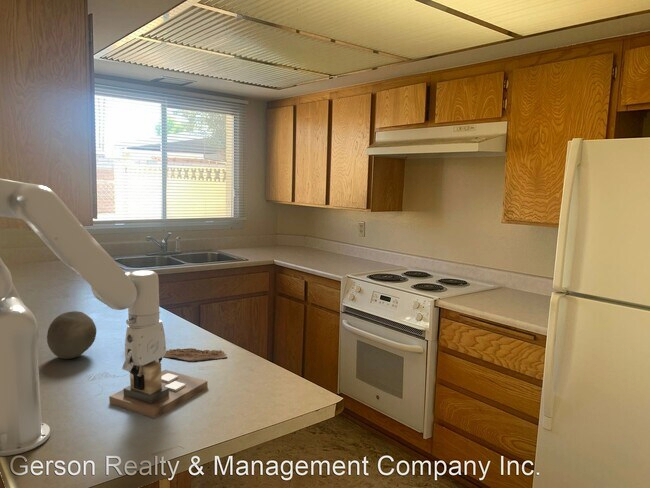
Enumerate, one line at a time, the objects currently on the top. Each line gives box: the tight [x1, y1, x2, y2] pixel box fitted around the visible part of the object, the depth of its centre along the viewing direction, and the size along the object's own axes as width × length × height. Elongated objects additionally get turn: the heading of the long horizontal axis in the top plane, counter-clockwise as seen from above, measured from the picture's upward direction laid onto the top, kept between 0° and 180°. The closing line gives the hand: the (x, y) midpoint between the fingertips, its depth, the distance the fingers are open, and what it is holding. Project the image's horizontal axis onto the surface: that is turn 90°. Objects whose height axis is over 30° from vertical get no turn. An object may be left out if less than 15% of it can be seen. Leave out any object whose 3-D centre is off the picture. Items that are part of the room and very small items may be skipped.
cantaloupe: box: [46, 310, 97, 360], centre depth 156 cm, size 14×14×15 cm
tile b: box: [161, 373, 178, 383], centre depth 138 cm, size 4×4×1 cm
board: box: [108, 369, 208, 419], centre depth 132 cm, size 20×16×2 cm
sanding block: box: [123, 361, 169, 404], centre depth 127 cm, size 6×10×9 cm, turn 64°
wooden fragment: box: [163, 347, 228, 362], centre depth 161 cm, size 26×11×1 cm, turn 85°
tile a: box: [164, 381, 186, 392], centre depth 133 cm, size 4×4×1 cm
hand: (146, 384), depth 127 cm, fingers closed on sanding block, 4 cm apart
